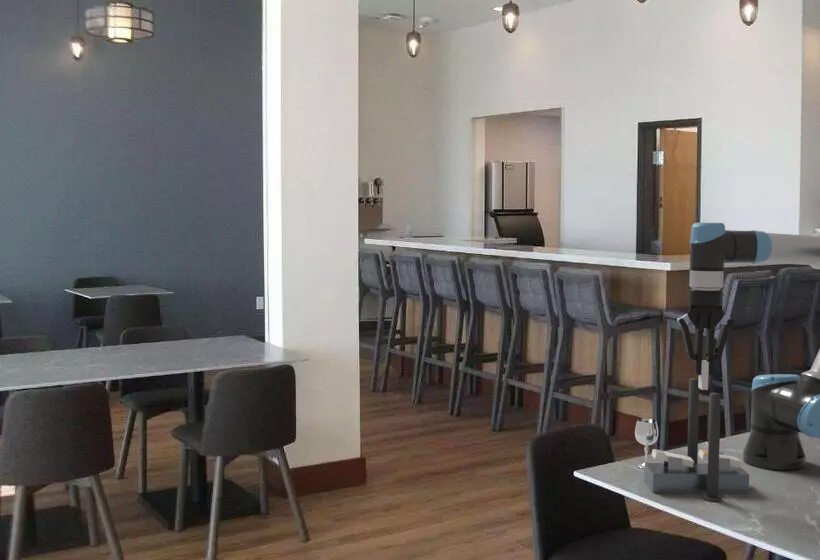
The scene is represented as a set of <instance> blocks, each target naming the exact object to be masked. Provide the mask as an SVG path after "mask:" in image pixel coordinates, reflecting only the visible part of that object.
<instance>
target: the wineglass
mask: <svg viewBox="0 0 820 560" xmlns="http://www.w3.org/2000/svg"><path fill="white" fill-rule="evenodd" d="M634 436H635V440H636V441H637V442H638V443H639V444H641V445H643V446H644V448H643V449H644V450H643V451H644V453H645V455H644V462H643V463H639V464H637V465H638V467H637V468H639V467H640V469H643V470H645V463H649V462H648V452H649V446H650V445H651V446H652V445H654V444H655V443H656V442H658V438H659V427H658V423H657V420H656V419H653V418H638V419H637V421H636V425H635V430H634Z"/></svg>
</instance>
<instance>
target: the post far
mask: <svg viewBox="0 0 820 560" xmlns="http://www.w3.org/2000/svg"><path fill="white" fill-rule="evenodd" d="M698 382H699V378H698V377H697V378H695V377H694V378H693V377H692V378H691V377H690V378H688V410H687V415H688V416H687V420H688V421H687V455H686V456H688V457H691V458H692V460H693V461H694V463H698V458H699V456H698V454H699V450H698V449H699V411H700V410H699V409H700V408H699V407H700V388H698Z"/></svg>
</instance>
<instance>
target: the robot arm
mask: <svg viewBox="0 0 820 560" xmlns="http://www.w3.org/2000/svg"><path fill="white" fill-rule="evenodd" d="M725 225H726V224H724V222H695V223H693V224H692V225H691V231H690V239H689V287H690V289H689V290H688V308H687V309H686V312H685V313H686V314H684V315H683V316H681V317H680V316H679V317H677V318H676V322H677V324H678V325H679V327H680V329H681V330H680V331H681V335H682V339H683V344H684V348H685V353H686V357H688V358H689V359H690V360H693V361H694V374H695V375H696V376H698V379H699V382H698V388H699V390H701V391H704V390H705V391H708V389H709V376H712V375H713V372H714V371H713V370H714V368H713V367H714V362H715V361H717V360H721V359H722V357H723V353H724V349H725V346H726V344H727V343H726V342H727V338H728V335H729V332H730V329H731V327H732V326H733V324H734V323H735V320H734V319H733V318H730V317H728V316H727V315H726V314H725V311H724V309H723V305H724V304H723V303H724V302H723V301H724V291H723V290H722V288H723V287H724V269H725V264H730V263H731V264H732V263H733V264H735V263H736V264H739V263H741V264H745V263H746V264H747V263H748V264H756V263H767V264H785V265H786V264H787V265H805V266H810V267H811V268H813V269H815V270H820V231H819V232H815V233H814V234H812V235H807V234H805V235H804V234H792V233H791V234H790V233H774V232H773V233H772V232H766V231H761V230H727V229H726V226H725ZM689 322H691V324H692V325H693V326H694V346H693V342H692V338H691V333H690V329H689V326H688V325H689ZM719 323H721V326H720V329H719V333H718V335H717V336H718V337H717V341H716V344H715V332H716V327H717V326H718V324H719ZM704 333H705V359H704V360H703V353H704V352H703V351H704V350H703V349H704ZM750 391H751V411H750V412H751V415H750V417H751V418H750V424H751V425H750V433H749V436H748V438H747V441H746V443H745V445H744V448H743V453H742V460H743V462H744V463H746V464H748V465H750V466H755V467H757V468H762V469H769V470H776V471H791V470H793V471H794V470H800V469H804V468H805V467H806V463H807V462H806V460H807V459H806V456H807V455H806V453H805V450H804V446H803V443H802V440H801V437H800V433H801V434H804V435H805V436H807V437H810V438H817V439H820V349H818V352H817V354H816V357H815V359H814V361H813V362H812V365H811V368H810V369H809V370H806V371H803V372H801V374H800V375H799V374H792V373H791V374H790V373H785V374H782V373H778V374H777V373H776V374H759V375H756V376H755V377H754V378H753V379H752V385H751V390H750Z"/></svg>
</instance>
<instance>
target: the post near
mask: <svg viewBox="0 0 820 560" xmlns="http://www.w3.org/2000/svg"><path fill="white" fill-rule="evenodd" d="M721 395H722V394H721V393H718V392H710V393H709V398H708V399H709V402H708V405H709V406H708V440H707V441H708V442H707V451H708V461H707V463H708V479H707V493H704V494H703V496H702V498H703V501H707V502H711V503H719V502H722V500H723V497H722V496H721V494H719V493H718V486H719V452H720V444H721V443H720V435H721V404H722V403H721V399H722V398H721Z"/></svg>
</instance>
